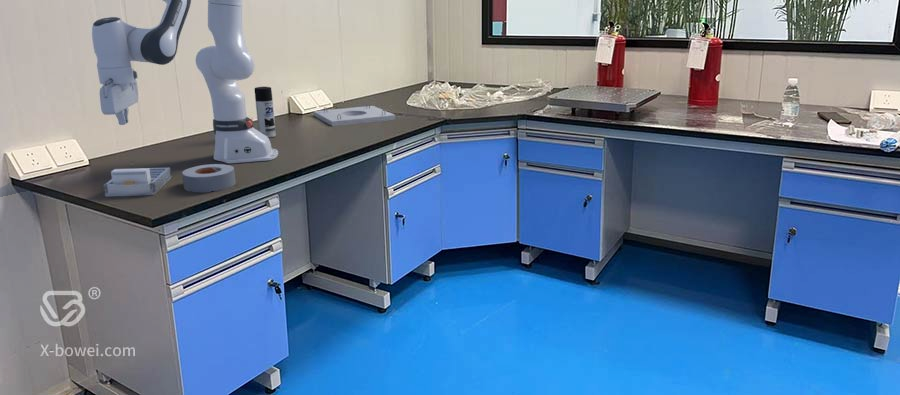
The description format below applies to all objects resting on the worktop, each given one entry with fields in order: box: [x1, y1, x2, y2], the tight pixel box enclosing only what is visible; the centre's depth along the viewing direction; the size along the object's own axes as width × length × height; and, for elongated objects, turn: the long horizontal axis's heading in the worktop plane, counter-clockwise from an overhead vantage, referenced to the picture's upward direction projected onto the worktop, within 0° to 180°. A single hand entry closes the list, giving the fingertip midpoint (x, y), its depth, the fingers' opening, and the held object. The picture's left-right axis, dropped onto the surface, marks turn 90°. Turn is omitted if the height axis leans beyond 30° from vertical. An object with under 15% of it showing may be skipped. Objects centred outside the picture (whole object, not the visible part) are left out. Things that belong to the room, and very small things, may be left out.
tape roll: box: [181, 163, 236, 193], centre depth 207 cm, size 15×15×5 cm
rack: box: [102, 167, 173, 198], centre depth 205 cm, size 14×18×4 cm
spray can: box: [254, 86, 277, 139], centre depth 268 cm, size 7×7×20 cm
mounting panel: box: [313, 103, 396, 127], centre depth 307 cm, size 27×5×30 cm
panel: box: [110, 167, 151, 184], centre depth 199 cm, size 10×3×6 cm, turn 96°
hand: (123, 123), depth 194 cm, fingers closed
